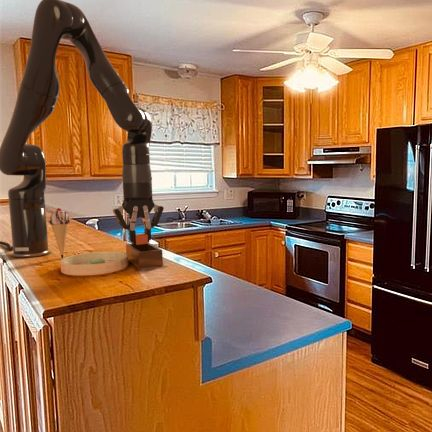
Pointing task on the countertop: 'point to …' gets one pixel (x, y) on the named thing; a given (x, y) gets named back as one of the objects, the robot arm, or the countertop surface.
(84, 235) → the countertop surface
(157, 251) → the holder
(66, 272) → the bowl
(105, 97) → the robot arm
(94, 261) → the green block
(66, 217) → the ice cream cone
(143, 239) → the orange rectangular block
